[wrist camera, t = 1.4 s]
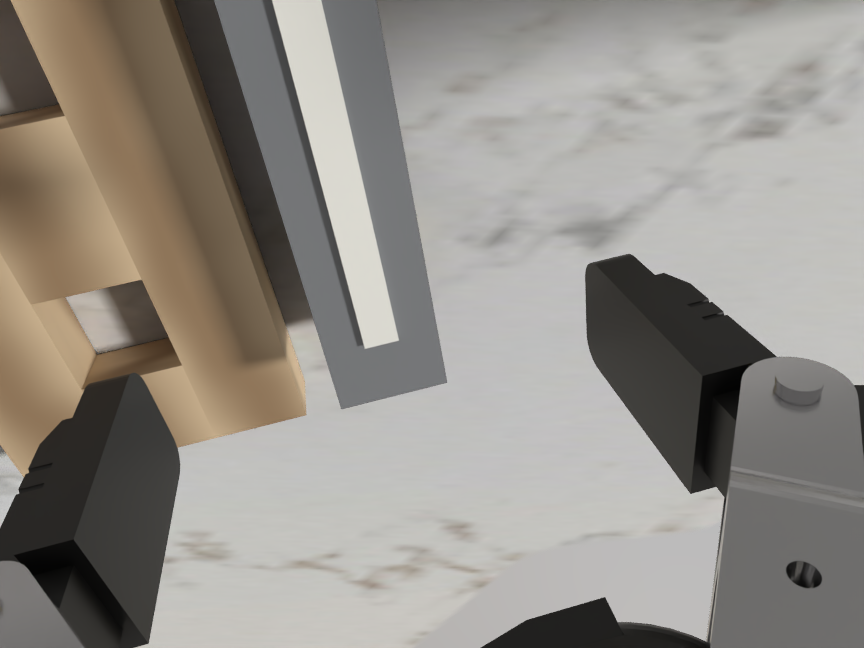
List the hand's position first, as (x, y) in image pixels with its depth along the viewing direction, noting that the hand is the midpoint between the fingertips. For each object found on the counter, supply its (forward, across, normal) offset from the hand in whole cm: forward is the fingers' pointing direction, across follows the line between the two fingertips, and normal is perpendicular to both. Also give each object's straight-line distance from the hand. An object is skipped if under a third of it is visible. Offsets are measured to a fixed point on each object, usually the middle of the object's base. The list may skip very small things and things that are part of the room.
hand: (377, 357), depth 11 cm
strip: (+15, 0, 0) cm, 16 cm away
